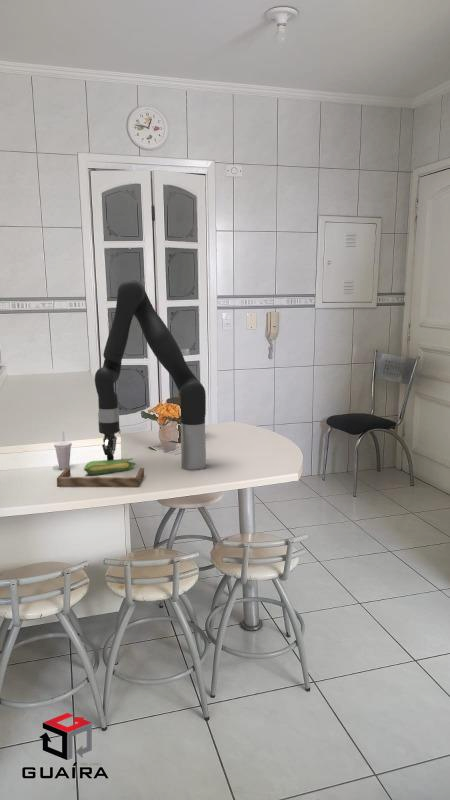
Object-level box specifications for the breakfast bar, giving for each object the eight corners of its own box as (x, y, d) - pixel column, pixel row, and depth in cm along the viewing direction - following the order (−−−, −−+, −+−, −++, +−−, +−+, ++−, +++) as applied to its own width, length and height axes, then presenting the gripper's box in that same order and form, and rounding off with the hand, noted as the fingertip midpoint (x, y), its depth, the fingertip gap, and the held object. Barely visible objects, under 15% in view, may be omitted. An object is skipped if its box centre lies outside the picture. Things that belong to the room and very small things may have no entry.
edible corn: (82, 462, 205) (84, 461, 201) (135, 457, 213) (138, 456, 209) (83, 476, 205) (85, 476, 200) (136, 470, 213) (139, 470, 209)
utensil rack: (144, 476, 202) (143, 468, 201) (138, 486, 191) (138, 478, 190) (67, 475, 202) (66, 467, 202) (57, 486, 191) (56, 478, 191)
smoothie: (76, 466, 213) (74, 431, 211) (65, 471, 208) (63, 434, 205) (63, 464, 216) (61, 429, 213) (51, 469, 210) (49, 433, 208)
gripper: (114, 423, 201) (116, 470, 204) (122, 415, 214) (124, 459, 217) (94, 423, 201) (96, 469, 204) (103, 415, 214) (105, 459, 217)
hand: (110, 464), depth 211 cm, fingers closed
